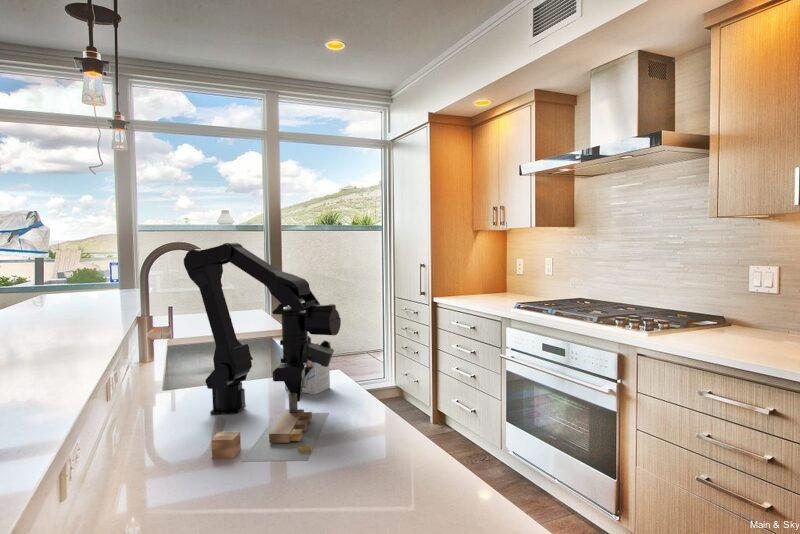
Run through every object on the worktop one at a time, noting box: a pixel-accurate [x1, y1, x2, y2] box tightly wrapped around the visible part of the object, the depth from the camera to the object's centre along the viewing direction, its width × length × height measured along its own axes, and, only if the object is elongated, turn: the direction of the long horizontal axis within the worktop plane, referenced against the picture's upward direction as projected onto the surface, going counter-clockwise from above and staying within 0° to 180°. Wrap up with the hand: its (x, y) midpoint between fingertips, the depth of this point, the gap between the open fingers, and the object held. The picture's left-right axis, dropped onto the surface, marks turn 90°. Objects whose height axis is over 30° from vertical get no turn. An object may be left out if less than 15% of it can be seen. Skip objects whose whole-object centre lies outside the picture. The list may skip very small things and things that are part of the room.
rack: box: [269, 392, 313, 443], centre depth 106 cm, size 6×14×6 cm, turn 179°
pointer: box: [298, 446, 313, 453], centre depth 96 cm, size 2×1×1 cm, turn 89°
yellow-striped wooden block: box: [210, 430, 242, 460], centre depth 95 cm, size 4×4×4 cm
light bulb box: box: [283, 360, 331, 395], centre depth 137 cm, size 11×7×11 cm, turn 62°
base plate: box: [241, 412, 330, 463], centre depth 104 cm, size 12×25×1 cm, turn 179°
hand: (297, 401), depth 115 cm, fingers closed
